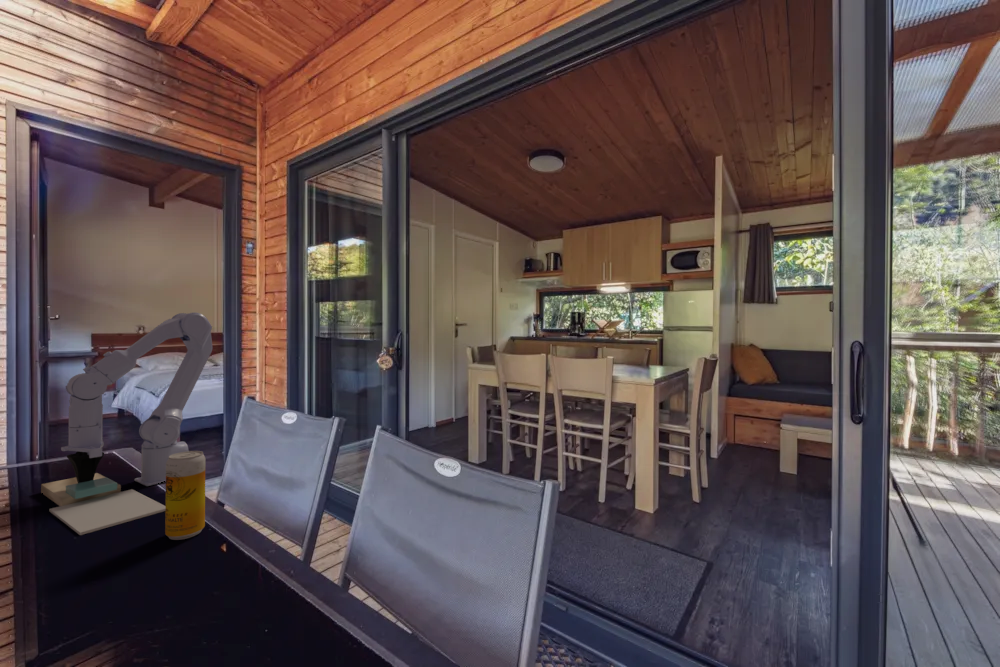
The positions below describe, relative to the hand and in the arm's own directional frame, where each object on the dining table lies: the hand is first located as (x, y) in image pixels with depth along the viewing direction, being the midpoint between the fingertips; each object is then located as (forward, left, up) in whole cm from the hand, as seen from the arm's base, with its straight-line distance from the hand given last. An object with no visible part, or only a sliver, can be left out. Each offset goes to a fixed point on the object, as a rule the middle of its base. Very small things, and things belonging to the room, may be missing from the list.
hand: (85, 483), depth 100 cm
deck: (0, -3, -3) cm, 4 cm away
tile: (0, +4, -1) cm, 4 cm away
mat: (0, +15, -3) cm, 16 cm away
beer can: (-4, +41, -3) cm, 41 cm away
